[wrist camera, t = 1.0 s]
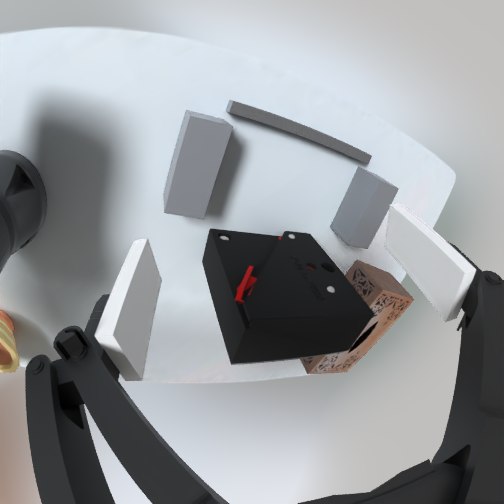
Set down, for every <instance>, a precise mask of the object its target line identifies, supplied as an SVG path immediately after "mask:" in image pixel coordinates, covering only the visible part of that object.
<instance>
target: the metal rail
mask: <svg viewBox="0 0 504 504" xmlns="http://www.w3.org/2000/svg"><path fill="white" fill-rule="evenodd" d="M226 111H227V112H229V113H232V114H236V115H239V116H242V117H246V118H249V119H252V120H255V121H259V122H262V123H265V124H268V125H271V126H274V127H277V128H280V129H282V130H285V131H288V132H291V133H294V134H296V135H299V136H302V137H304V138H307V139H310V140H312V141H315V142H317V143H320V144H322V145H325V146H327V147H330V148H332V149H335V150H337V151H339V152H342V153H344V154H346V155H349V156H351V157H353V158H355V159H357V160H360V161H362V162H364V163H366V164H368V163H369V161H370V159H371V157H372V156H371V155H369V154H367V153H365V152H363V151H361V150H359V149H357V148H355V147H353V146H351V145H349V144H347V143H344V142H342V141H340V140H338V139H336V138H333V137H331V136H329V135H326V134H324V133H322V132H319V131H317V130H314V129H312V128H310V127H307V126H305V125H302V124H299V123H297V122H294V121H292V120H289V119H286V118H284V117H281V116H278V115H275V114H272V113H270V112H267V111H264V110H261V109H258V108H255V107H252V106H248V105H245V104H242V103H239V102H236V101H232V100H229V103H228V106H227V109H226Z"/></svg>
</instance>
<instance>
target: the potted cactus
mask: <svg viewBox="0 0 504 504" xmlns="http://www.w3.org/2000/svg"><path fill="white" fill-rule="evenodd" d="M13 331H14V326H13V322H12V320H11V319H10V318H9V317H8V315H7V314H6V313H4V312H3V311H2V310H0V372H2V373H10V372H15V371H16V369H17V368H18V366H19V356H18V353H17V350H16V342H15V339H14V335H13Z"/></svg>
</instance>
